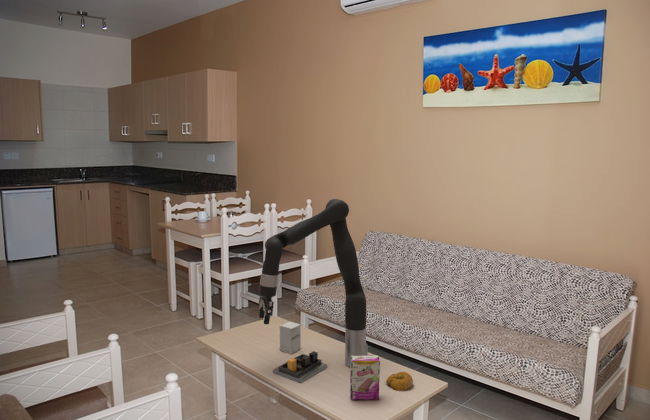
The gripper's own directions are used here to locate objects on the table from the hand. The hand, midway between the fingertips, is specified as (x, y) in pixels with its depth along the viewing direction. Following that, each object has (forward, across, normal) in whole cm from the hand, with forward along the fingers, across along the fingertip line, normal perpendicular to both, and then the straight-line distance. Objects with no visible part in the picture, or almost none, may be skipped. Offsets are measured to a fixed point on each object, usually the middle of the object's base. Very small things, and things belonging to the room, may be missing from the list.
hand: (263, 320), depth 213 cm
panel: (+20, -4, -18) cm, 28 cm away
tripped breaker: (+20, -7, -13) cm, 25 cm away
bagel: (+16, -32, -52) cm, 63 cm away
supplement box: (+20, +18, -20) cm, 34 cm away
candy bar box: (+18, -36, -34) cm, 53 cm away
